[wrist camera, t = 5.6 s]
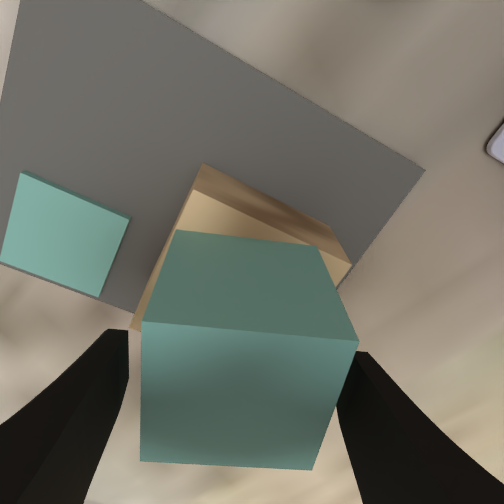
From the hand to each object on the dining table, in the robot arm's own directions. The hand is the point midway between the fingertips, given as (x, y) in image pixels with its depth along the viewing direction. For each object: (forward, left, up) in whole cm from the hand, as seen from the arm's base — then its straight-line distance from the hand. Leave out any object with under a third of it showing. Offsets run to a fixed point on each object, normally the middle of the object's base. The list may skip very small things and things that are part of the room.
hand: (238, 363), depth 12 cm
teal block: (0, 0, -4) cm, 4 cm away
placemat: (+3, -1, -8) cm, 9 cm away
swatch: (+8, +3, -8) cm, 12 cm away
